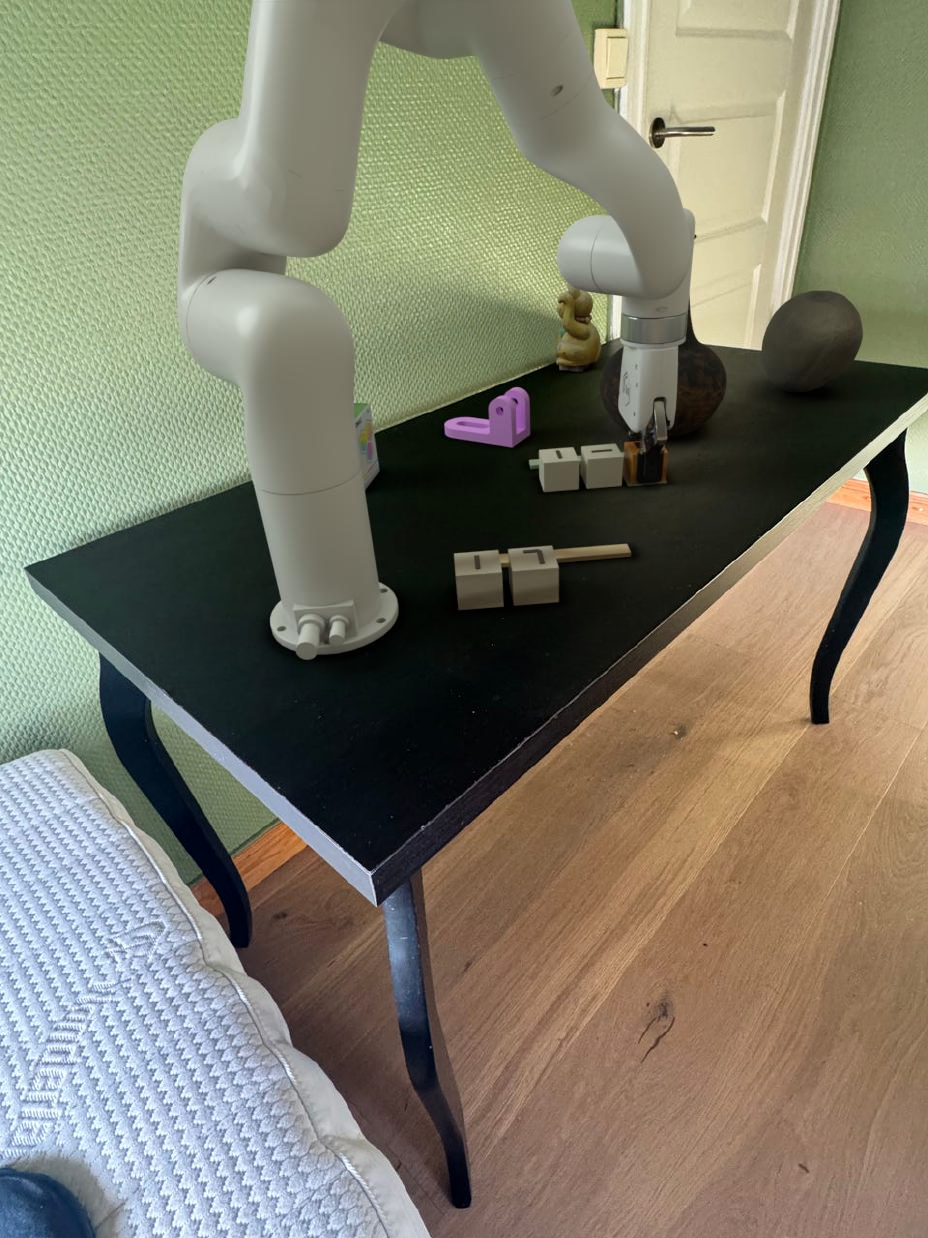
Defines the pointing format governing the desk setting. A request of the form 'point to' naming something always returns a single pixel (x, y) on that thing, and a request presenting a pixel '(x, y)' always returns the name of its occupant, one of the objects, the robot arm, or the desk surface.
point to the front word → (520, 573)
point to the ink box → (366, 442)
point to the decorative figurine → (576, 331)
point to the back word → (596, 468)
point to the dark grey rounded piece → (811, 340)
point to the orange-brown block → (631, 461)
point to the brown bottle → (695, 384)
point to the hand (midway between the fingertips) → (643, 472)
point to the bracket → (496, 421)
